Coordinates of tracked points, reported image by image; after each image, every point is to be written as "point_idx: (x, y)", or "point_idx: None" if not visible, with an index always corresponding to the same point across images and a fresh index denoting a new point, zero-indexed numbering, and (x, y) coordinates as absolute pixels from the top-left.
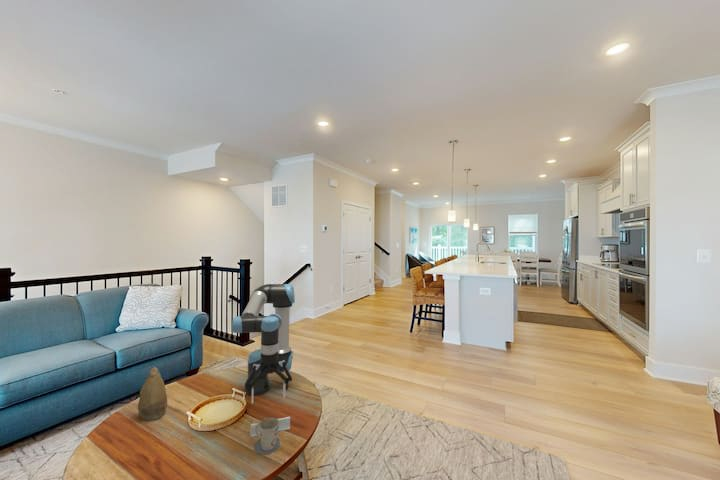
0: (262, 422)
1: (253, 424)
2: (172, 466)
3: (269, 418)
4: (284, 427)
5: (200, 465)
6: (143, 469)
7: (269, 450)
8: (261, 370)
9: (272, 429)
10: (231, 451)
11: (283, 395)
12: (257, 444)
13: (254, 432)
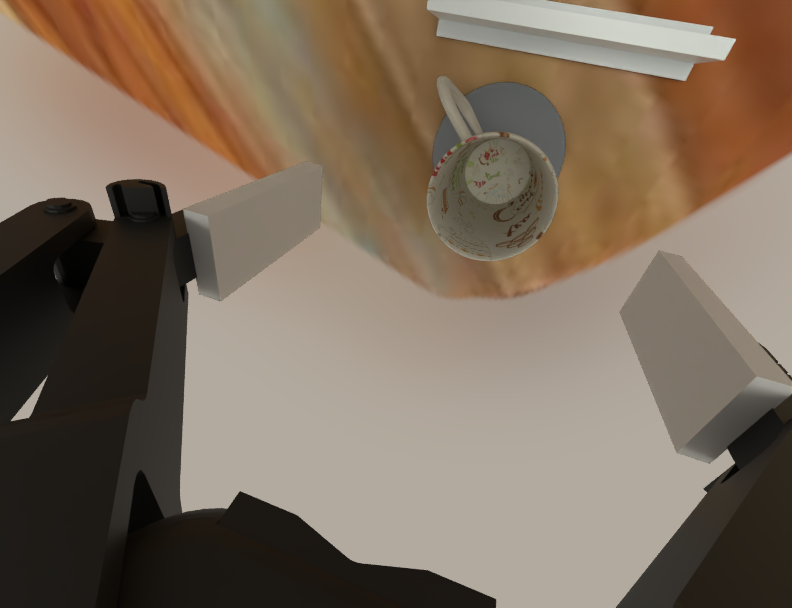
0: (460, 146)
1: (445, 3)
2: (144, 72)
3: (515, 138)
4: (655, 57)
5: (236, 127)
6: (56, 30)
7: None
8: (34, 510)
9: (488, 258)
10: (341, 105)
11: (630, 317)
12: (452, 130)
13: (459, 20)
